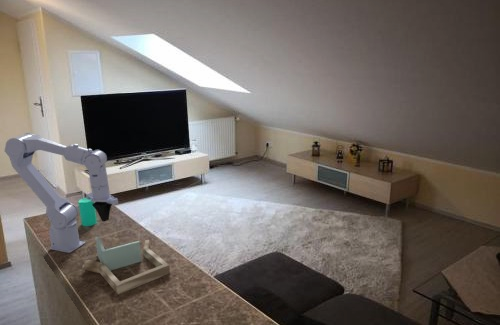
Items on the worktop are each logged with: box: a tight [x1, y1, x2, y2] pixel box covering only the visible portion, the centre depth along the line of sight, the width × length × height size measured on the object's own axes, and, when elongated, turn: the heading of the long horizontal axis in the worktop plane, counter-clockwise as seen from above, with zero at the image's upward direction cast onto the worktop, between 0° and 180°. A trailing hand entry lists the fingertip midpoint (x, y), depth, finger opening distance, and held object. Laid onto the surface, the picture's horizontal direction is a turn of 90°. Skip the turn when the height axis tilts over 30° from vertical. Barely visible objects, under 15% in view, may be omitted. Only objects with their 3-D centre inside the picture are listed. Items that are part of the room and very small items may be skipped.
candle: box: [78, 196, 98, 227], centre depth 158 cm, size 6×6×12 cm
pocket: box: [84, 239, 171, 295], centre depth 123 cm, size 21×23×3 cm
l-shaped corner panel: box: [94, 236, 143, 272], centre depth 129 cm, size 12×12×8 cm
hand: (105, 220), depth 137 cm, fingers closed
